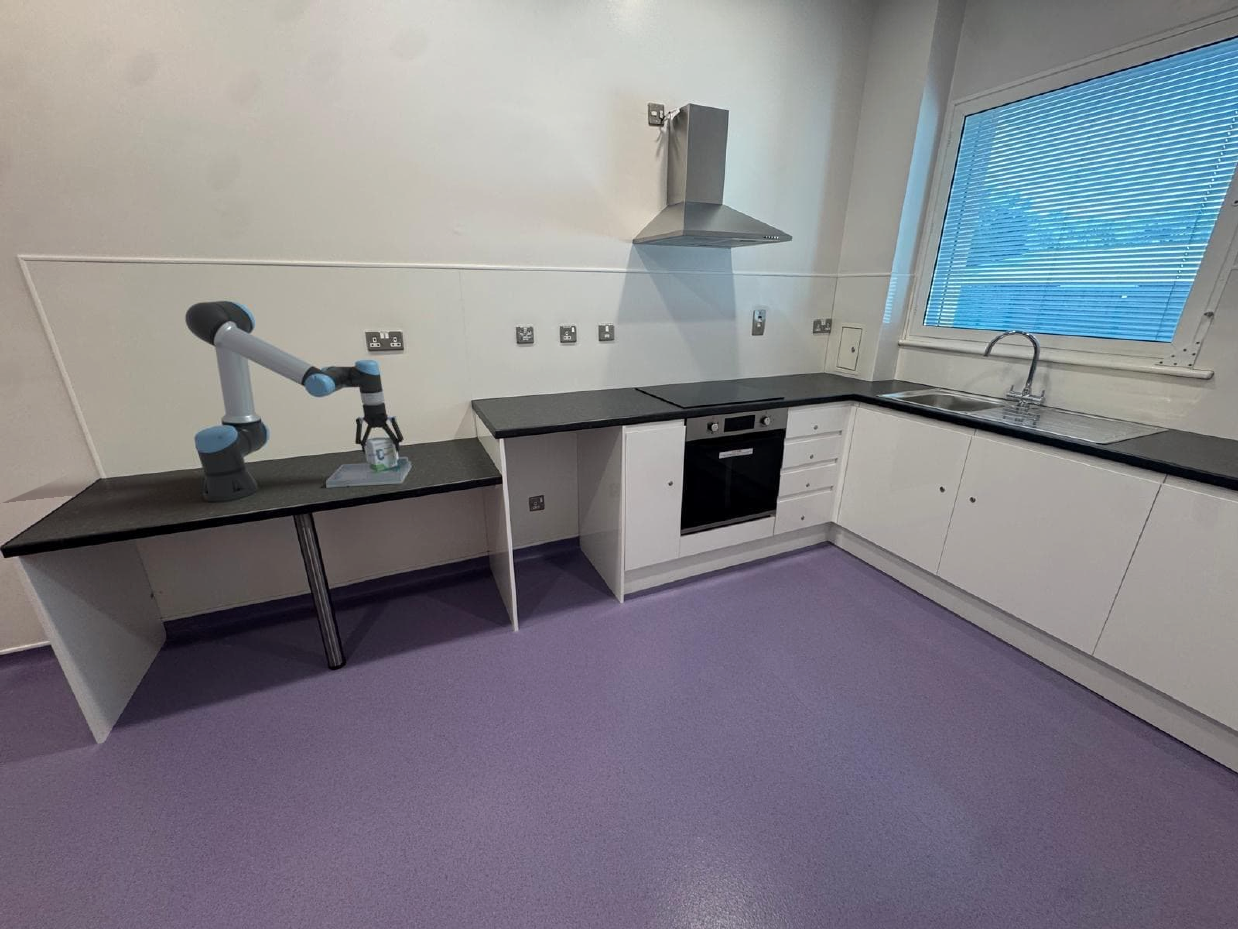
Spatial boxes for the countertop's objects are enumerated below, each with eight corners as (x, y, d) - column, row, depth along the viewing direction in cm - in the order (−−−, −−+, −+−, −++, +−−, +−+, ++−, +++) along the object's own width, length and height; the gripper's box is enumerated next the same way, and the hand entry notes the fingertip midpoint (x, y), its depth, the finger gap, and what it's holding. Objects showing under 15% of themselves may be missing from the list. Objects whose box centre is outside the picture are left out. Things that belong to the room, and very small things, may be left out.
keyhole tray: (326, 487, 181) (324, 476, 179) (343, 470, 197) (341, 459, 196) (401, 483, 185) (400, 472, 184) (411, 466, 202) (410, 456, 200)
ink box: (391, 463, 195) (386, 434, 191) (398, 465, 193) (393, 437, 188) (369, 469, 189) (364, 439, 185) (376, 472, 186) (371, 442, 182)
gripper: (337, 406, 177) (349, 464, 184) (402, 404, 180) (411, 461, 188) (344, 401, 183) (355, 458, 191) (407, 399, 187) (415, 455, 195)
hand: (383, 460), depth 190 cm, fingers closed on ink box, 9 cm apart
